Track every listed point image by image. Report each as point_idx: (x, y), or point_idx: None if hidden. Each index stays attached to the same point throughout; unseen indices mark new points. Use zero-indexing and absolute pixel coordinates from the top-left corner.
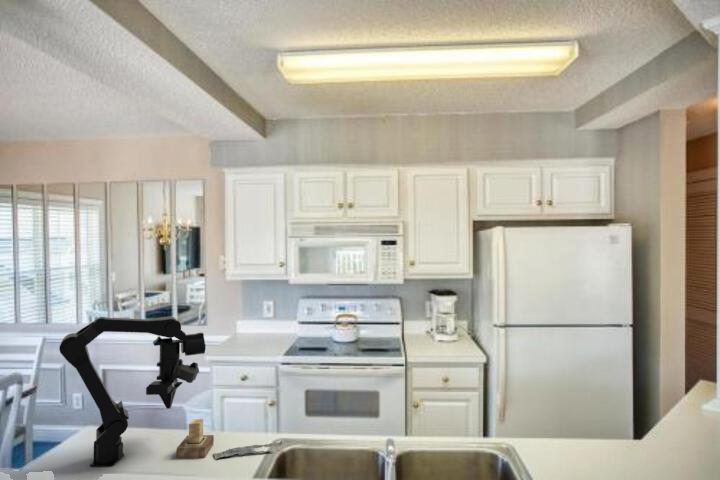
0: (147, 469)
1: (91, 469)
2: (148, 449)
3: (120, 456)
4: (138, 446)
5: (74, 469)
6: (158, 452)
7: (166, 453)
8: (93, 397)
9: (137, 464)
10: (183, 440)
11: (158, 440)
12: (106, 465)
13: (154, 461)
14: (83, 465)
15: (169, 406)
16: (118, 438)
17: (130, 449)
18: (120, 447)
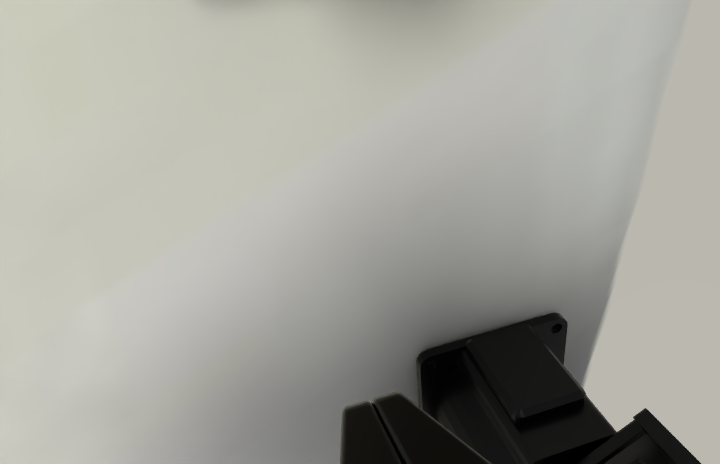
0: (631, 50)
1: None
2: (307, 262)
3: (508, 338)
4: (266, 365)
5: None
6: (354, 145)
7: (370, 57)
8: None
9: (546, 177)
10: None
11: (122, 298)
12: (561, 344)
13: (512, 75)
14: None
15: (431, 424)
16: (668, 431)
17: (321, 380)
18: (546, 384)
